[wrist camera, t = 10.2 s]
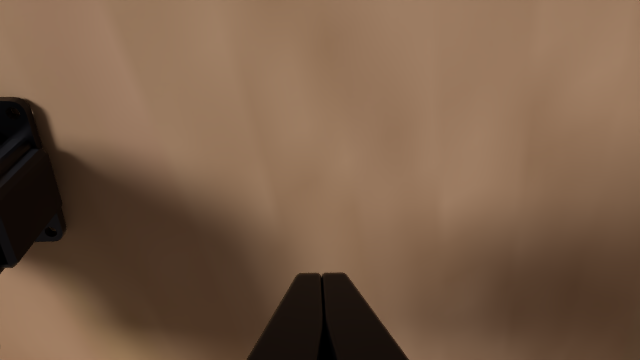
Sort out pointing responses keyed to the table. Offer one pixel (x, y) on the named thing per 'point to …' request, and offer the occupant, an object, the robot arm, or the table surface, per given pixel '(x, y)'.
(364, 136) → the table surface
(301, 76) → the table surface
